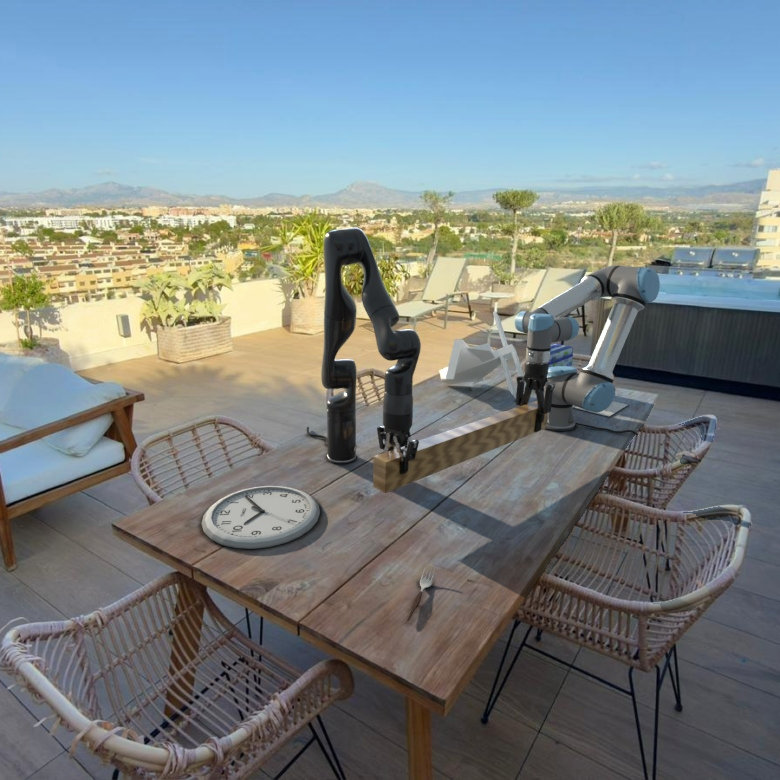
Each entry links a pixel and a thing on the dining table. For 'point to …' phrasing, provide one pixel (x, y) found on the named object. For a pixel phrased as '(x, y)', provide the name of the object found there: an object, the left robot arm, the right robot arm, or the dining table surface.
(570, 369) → the right robot arm
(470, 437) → the post
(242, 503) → the wall clock
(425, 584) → the fork
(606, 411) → the invitation card
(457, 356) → the white plastic object
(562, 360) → the lunch box
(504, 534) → the dining table surface
